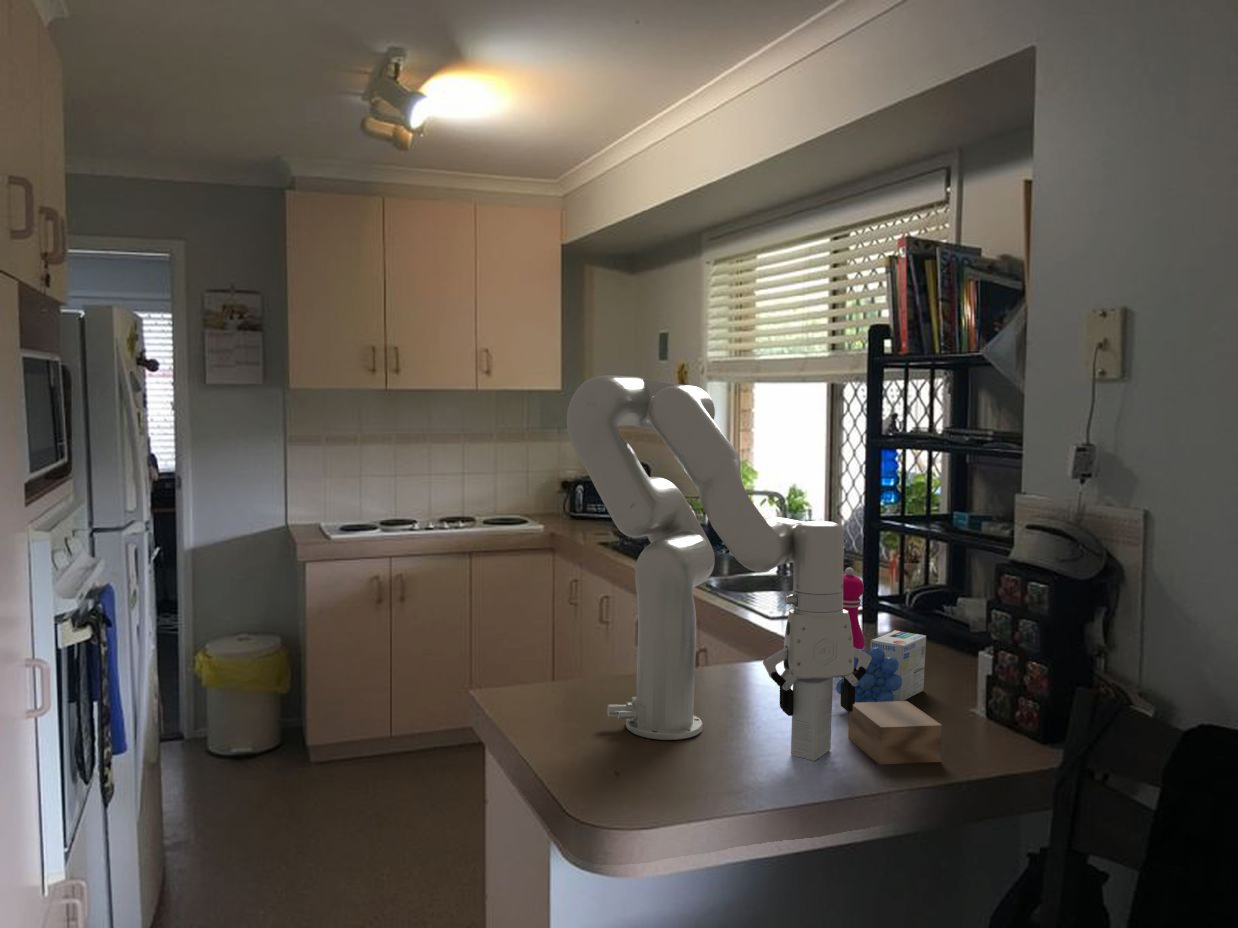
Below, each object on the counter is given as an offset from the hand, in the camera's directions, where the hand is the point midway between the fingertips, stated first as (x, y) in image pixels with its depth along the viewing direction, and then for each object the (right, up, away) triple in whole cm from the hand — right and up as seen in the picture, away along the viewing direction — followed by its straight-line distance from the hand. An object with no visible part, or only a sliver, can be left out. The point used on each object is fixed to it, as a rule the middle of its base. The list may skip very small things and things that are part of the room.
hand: (817, 711), depth 161 cm
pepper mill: (+16, -3, +54) cm, 56 cm away
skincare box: (-1, -7, +1) cm, 7 cm away
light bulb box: (+21, -5, +34) cm, 40 cm away
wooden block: (+13, -7, +4) cm, 15 cm away
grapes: (+13, -6, +22) cm, 26 cm away
